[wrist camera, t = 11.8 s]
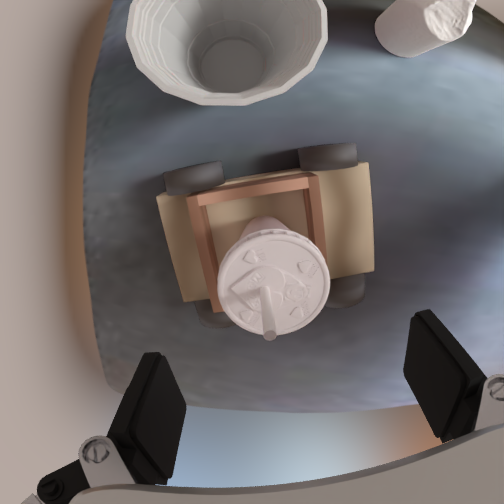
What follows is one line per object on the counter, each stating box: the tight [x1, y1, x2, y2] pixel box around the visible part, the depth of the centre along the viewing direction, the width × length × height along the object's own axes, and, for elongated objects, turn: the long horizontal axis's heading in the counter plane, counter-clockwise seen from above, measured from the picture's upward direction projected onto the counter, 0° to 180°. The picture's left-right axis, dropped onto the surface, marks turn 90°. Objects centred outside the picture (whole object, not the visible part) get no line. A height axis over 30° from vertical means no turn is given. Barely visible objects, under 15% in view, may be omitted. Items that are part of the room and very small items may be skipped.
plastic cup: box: [126, 0, 328, 106], centre depth 17 cm, size 11×11×12 cm
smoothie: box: [217, 216, 330, 341], centre depth 19 cm, size 6×6×14 cm
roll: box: [375, 0, 477, 58], centre depth 16 cm, size 6×12×6 cm
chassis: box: [156, 143, 374, 328], centre depth 25 cm, size 18×14×5 cm
